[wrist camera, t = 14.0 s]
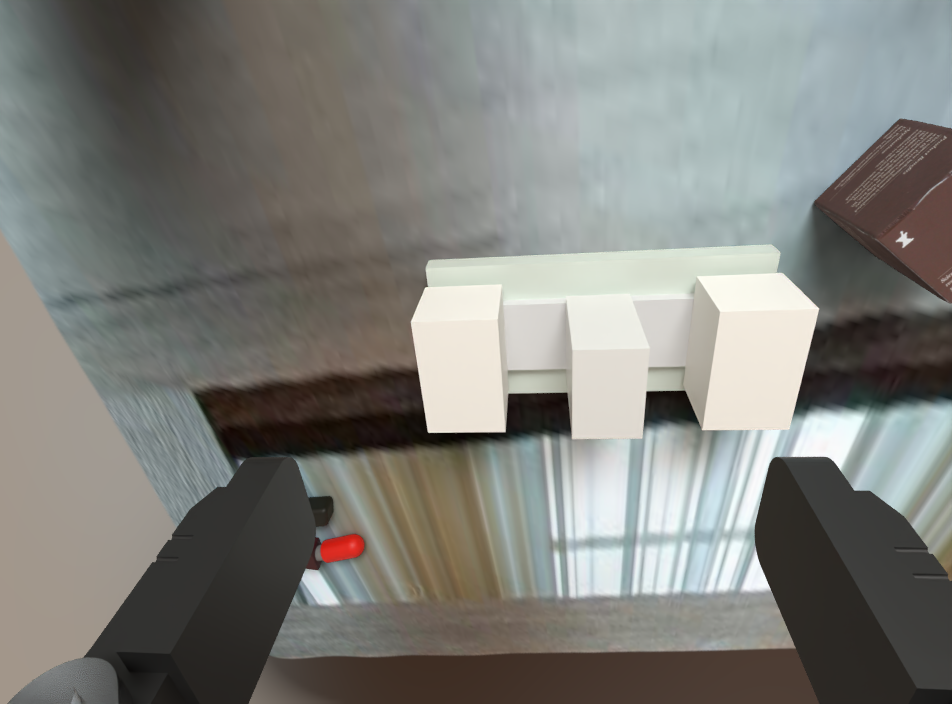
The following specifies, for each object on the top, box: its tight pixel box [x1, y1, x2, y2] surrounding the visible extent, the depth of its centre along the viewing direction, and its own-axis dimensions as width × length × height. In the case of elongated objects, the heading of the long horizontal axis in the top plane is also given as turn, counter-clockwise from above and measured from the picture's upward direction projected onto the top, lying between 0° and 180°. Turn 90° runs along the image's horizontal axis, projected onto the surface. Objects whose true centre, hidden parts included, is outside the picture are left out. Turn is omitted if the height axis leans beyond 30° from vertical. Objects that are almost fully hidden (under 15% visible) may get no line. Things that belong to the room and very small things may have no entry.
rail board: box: [411, 244, 819, 433], centre depth 36 cm, size 22×10×7 cm, turn 94°
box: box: [814, 119, 952, 303], centre depth 30 cm, size 6×6×7 cm
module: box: [566, 294, 650, 439], centre depth 34 cm, size 4×6×7 cm, turn 4°
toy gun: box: [306, 496, 364, 570], centre depth 51 cm, size 10×12×5 cm
